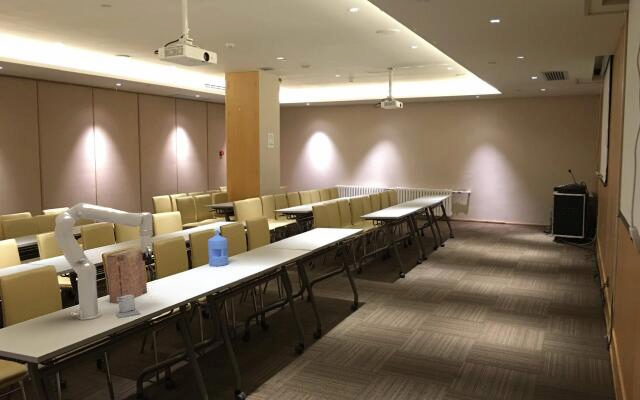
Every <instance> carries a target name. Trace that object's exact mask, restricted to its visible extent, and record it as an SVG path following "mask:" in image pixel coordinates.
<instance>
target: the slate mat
mask: <svg viewBox="0 0 640 400" xmlns="http://www.w3.org/2000/svg"><path fill="white" fill-rule="evenodd" d="M141 313H142V312H140V311H139V310H131V311H128V312H124V313H121V312H119V313H115V316H116V317H117V319H121V318H126V317H127V318H128V317H133V316H139V315H142V314H141Z"/></svg>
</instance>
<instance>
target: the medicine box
mask: <svg viewBox="0 0 640 400" xmlns="http://www.w3.org/2000/svg"><path fill="white" fill-rule="evenodd" d="M117 304H118V310H119V311H118V312H119V313H125V312H131V311H136V302H135V298H134V295H126V296H122V297H118V303H117Z"/></svg>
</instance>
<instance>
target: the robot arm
mask: <svg viewBox="0 0 640 400" xmlns="http://www.w3.org/2000/svg"><path fill="white" fill-rule="evenodd" d="M55 217H56V218H55V220H54V221H55V227H54V233H53V234H54V238H55V240H56V243H57V244H58V245H59V246H58V247H60V249H61V250H62V254H63V256H64V258H65V260H66V261H67V263H68V264H69V265H70V267H71V268H72V269H73V271H74V272H75V274H77V291H78V294H77V295H78V305H79V308H78V310H76V311H71V312H70V316H71V317H72V316H73V317H75V316H76V317H77V319H78V320H83V321H84V320H85V321H86V320H88V321H89V320H93V319H96V318H100V317H101V316H102V312H101V311H99V302H98V301H99V300H98V287H97V267H96V265H95V264H94V263H93V262H92V261H91V260H90V259H89V258H88V256H87V255H86V253H85V250H84V249H83V247H82V246H81V245H80V244H79V243H78V241H77V240H76V238H75V236H74V235H73V231H72V229H73V228H74V226H75V225H76V224H75V223H77V222H78V221H81V220H83V219H86V220H91V221H96V222H97V221H98V222H103V223H108V224H116V225H121V226H128V227H134V228H135V227H138V230H139V231H138V232H139V234H138V236H139V237H140V239H139V241H140V243H139V244H140V245H139V246H140V248H139V249H140V251H141V252H142V260H143V261H145V264H152V263H153V255H152V252H153V245H152V242H153V241H152V236H154V235H153V233H154V232H153V215H152V213H151V212H148V211H144V212H128V211H122V210H119V209H115V208H112V207H106V206H102V205H96V204H92V203H88V202H79V203H77V204H75V205H74V206H72V207H70V208H68V209H66V210H64V211H62V212H61V213H59V214H58V215H57V216H55Z"/></svg>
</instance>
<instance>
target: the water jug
mask: <svg viewBox="0 0 640 400" xmlns="http://www.w3.org/2000/svg"><path fill="white" fill-rule="evenodd" d="M228 243H229V242H228V238H226V237H224V236H222V235H220V230H219V229H216V230H214V236H212V237H211V238H209V239H208V240H207V248H208V249H207V250H208V254H207V255H208V265H209V266H210V267H224V266H228V265H229V255H228V247H229V246H228Z"/></svg>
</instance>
